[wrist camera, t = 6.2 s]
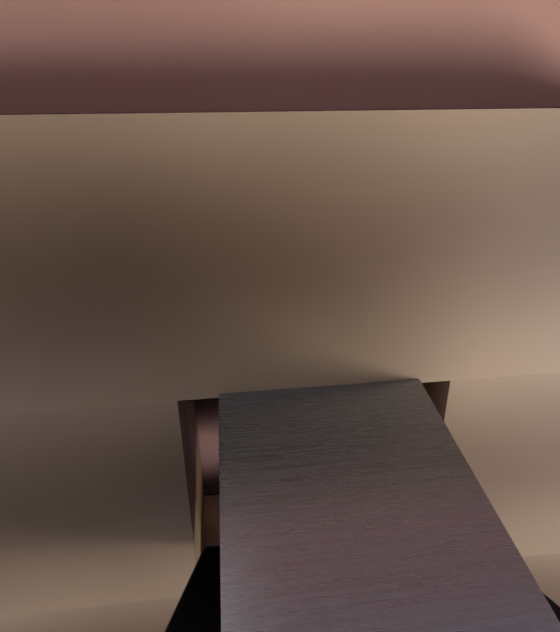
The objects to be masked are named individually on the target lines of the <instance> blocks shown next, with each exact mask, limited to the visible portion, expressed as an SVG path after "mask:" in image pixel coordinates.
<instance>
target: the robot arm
mask: <svg viewBox="0 0 560 632" xmlns="http://www.w3.org/2000/svg"><path fill="white" fill-rule="evenodd" d="M543 594H544V593H543ZM544 596H545V598H546V599H547V601H548V603H549V605H550V606H551V608H552V610H553V612H554V613H555V615H556V617H557V618H558V620H559V622H560V606H559V605H557V604H556V603H555V602H554V601H553V600H551V599H550V598H549V597H548V596H546V595H545V594H544ZM165 632H221V586H220V544H215V545H207V546H206V547H204V549H203V550H202V552H201V555H200V557H199V559H198V561H197V563H196V565H195V567H194V570H193V572H192V574H191V576H190V578H189V580H188V582H187V585H186V587H185V589H184V591H183V593H182V595H181V597H180V600H179V602H178V604H177V606H176V608H175V610H174V612H173V615H172V617H171V619H170V621H169V623H168V625H167V627H166V630H165Z"/></svg>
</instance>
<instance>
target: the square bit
mask: <svg viewBox="0 0 560 632" xmlns="http://www.w3.org/2000/svg"><path fill="white" fill-rule="evenodd" d="M219 478H220V586H221V632H560V622H559V620H558V618H557V617H556V615H555V613H554V612H553V610H552V608H551V606H550V605H549V603H548V601H547V599H546V598H545V596H544V594H543V592H542V591H541V589H540V587H539V586H538V584H537V582H536V580H535V579H534V577H533V575H532V573H531V572H530V570H529V568H528V566H527V565H526V563H525V561H524V560H523V558H522V556H521V554H520V553H519V551H518V549H517V547H516V546H515V544H514V542H513V540H512V539H511V537H510V535H509V534H508V532H507V530H506V528H505V527H504V525H503V523H502V521H501V520H500V518H499V516H498V514H497V513H496V511H495V509H494V508H493V506H492V504H491V502H490V501H489V499H488V497H487V495H486V494H485V492H484V490H483V488H482V487H481V485H480V483H479V482H478V480H477V478H476V476H475V475H474V473H473V471H472V469H471V468H470V466H469V464H468V462H467V461H466V459H465V457H464V456H463V454H462V452H461V450H460V449H459V447H458V445H457V443H456V442H455V440H454V438H453V437H452V435H451V433H450V431H449V430H448V428H447V426H446V424H445V423H444V421H443V419H442V417H441V416H440V414H439V412H438V411H437V409H436V407H435V405H434V404H433V402H432V400H431V398H430V397H429V395H428V393H427V391H426V390H425V388H424V386H423V385H422V383H421V381H420V379H412V380H398V381H385V382H372V383H358V384H345V385H331V386H318V387H304V388H291V389H278V390H264V391H251V392H237V393H224V394H219Z"/></svg>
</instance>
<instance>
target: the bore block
mask: <svg viewBox="0 0 560 632" xmlns="http://www.w3.org/2000/svg"><path fill="white" fill-rule="evenodd" d="M412 379H420V381H421V383H422V385H423V386H424V388H425V390H426V391H427V393H428V395H429V397H430V398H431V400H432V402H433V404H434V405H435V407H436V409H437V411H438V412H439V414H440V416H441V417H442V419H443V421H444V423H445V424H446V426H447V428H448V430H449V431H450V433H451V435H452V437H453V438H454V440H455V442H456V443H457V445H458V447H459V449H460V450H461V452H462V454H463V456H464V457H465V459H466V461H467V462H468V464H469V466H470V468H471V469H472V471H473V473H474V475H475V476H476V478H477V480H478V482H479V483H480V485H481V487H482V488H483V490H484V492H485V494H486V495H487V497H488V499H489V501H490V502H491V504H492V506H493V508H494V509H495V511H496V513H497V514H498V516H499V518H500V520H501V521H502V523H503V525H504V527H505V528H506V530H507V532H508V534H509V535H510V537H511V539H512V540H513V542H514V544H515V546H516V547H517V549H518V551H519V553H520V554H521V556H522V558H523V560H524V561H525V563H526V565H527V566H528V568H529V570H530V572H531V573H532V575H533V577H534V579H535V580H536V582H537V584H538V586H539V587H540V589H541V591H542V592H543V593H544V594H545V595H546V596H548V597H549V598H550V599H551V600H553V601H554V602H555V603H556V604H557V605H559V606H560V108H526V109H444V110H363V111H281V112H199V113H118V114H36V115H0V632H165V630H166V627H167V625H168V623H169V621H170V619H171V617H172V615H173V612H174V610H175V608H176V606H177V604H178V602H179V600H180V597H181V595H182V593H183V591H184V589H185V587H186V585H187V582H188V580H189V578H190V576H191V574H192V572H193V570H194V567H195V565H196V563H197V561H198V559H199V557H200V555H201V552H202V550H203V549H204V547H206V546H207V545H215V544H220V494H216V495H205V496H204V489H203V479H202V469H201V459H200V449H199V439H198V429H197V419H196V409H195V399H208V398H219V394H224V393H237V392H251V391H264V390H278V389H291V388H304V387H318V386H331V385H345V384H358V383H372V382H385V381H398V380H412Z"/></svg>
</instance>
